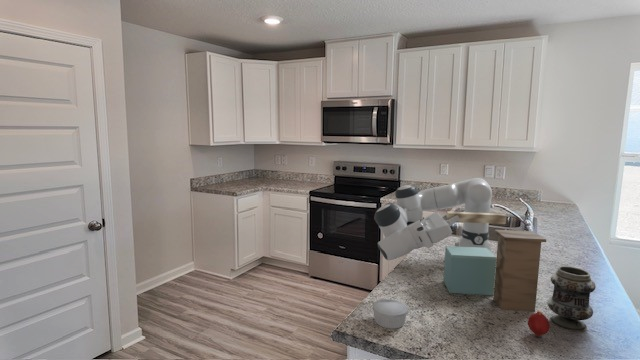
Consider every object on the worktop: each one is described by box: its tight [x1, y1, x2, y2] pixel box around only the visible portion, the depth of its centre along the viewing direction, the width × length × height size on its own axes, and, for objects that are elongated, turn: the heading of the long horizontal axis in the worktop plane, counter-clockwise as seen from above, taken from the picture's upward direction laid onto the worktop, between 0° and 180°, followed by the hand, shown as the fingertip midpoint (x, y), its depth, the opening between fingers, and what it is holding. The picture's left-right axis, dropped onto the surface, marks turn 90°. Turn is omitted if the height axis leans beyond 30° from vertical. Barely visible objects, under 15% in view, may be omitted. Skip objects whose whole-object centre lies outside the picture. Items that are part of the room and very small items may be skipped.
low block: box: [443, 245, 497, 296], centre depth 142 cm, size 11×16×15 cm
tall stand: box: [493, 229, 547, 313], centre depth 128 cm, size 10×13×26 cm
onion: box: [527, 310, 551, 337], centre depth 109 cm, size 6×6×8 cm
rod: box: [446, 210, 507, 225], centre depth 127 cm, size 19×3×3 cm, turn 82°
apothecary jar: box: [546, 265, 597, 333], centre depth 116 cm, size 12×12×18 cm
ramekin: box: [372, 298, 409, 330], centre depth 117 cm, size 11×11×5 cm
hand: (457, 215), depth 128 cm, fingers closed on rod, 3 cm apart
